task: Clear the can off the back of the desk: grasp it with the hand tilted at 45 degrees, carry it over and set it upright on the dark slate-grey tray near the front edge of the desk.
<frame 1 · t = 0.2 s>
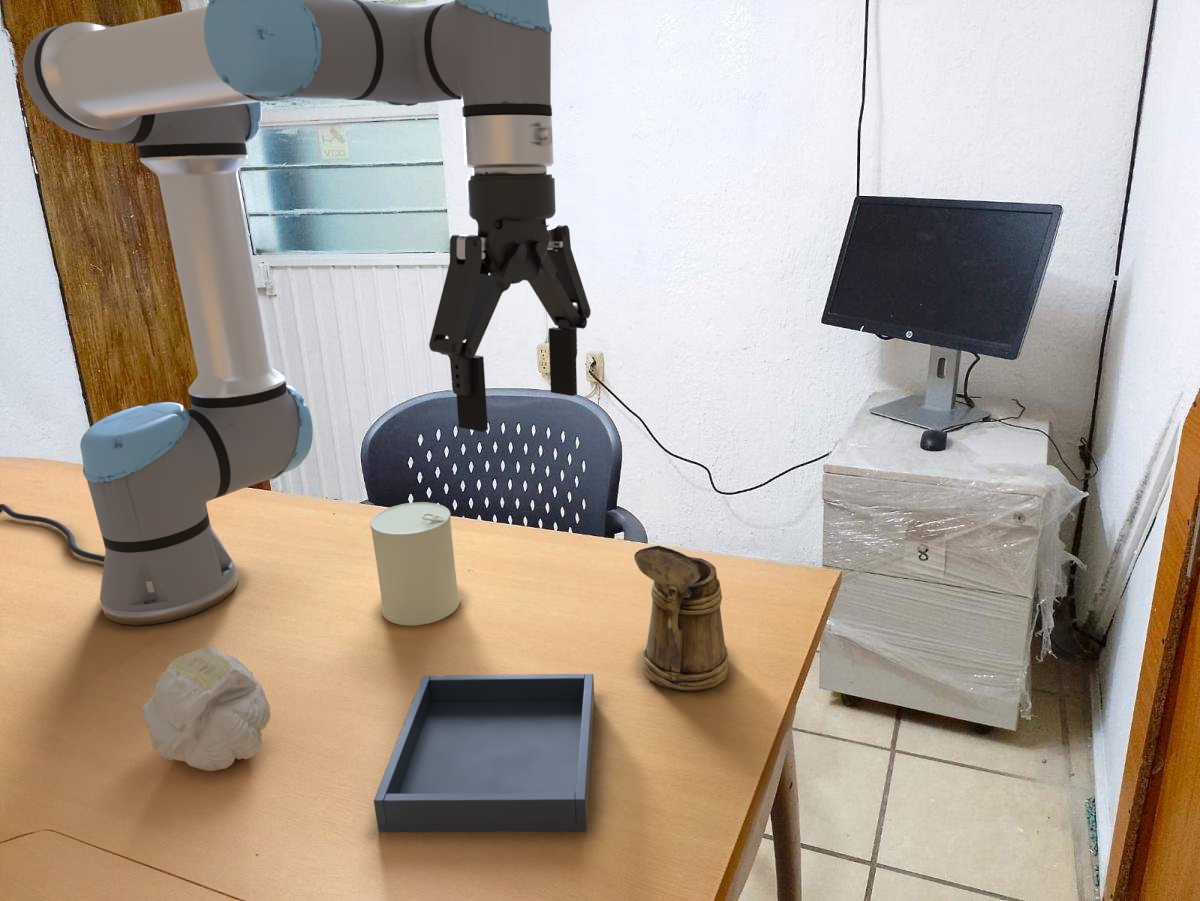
hand: (521, 410, 78), 28 cm above the table, tool pointing down, fingers open, 13 cm apart
wooden mug: (679, 680, 84), on the table
tray: (497, 759, 73), on the table
fossil replica: (217, 747, 76), on the table
can: (421, 606, 99), on the table
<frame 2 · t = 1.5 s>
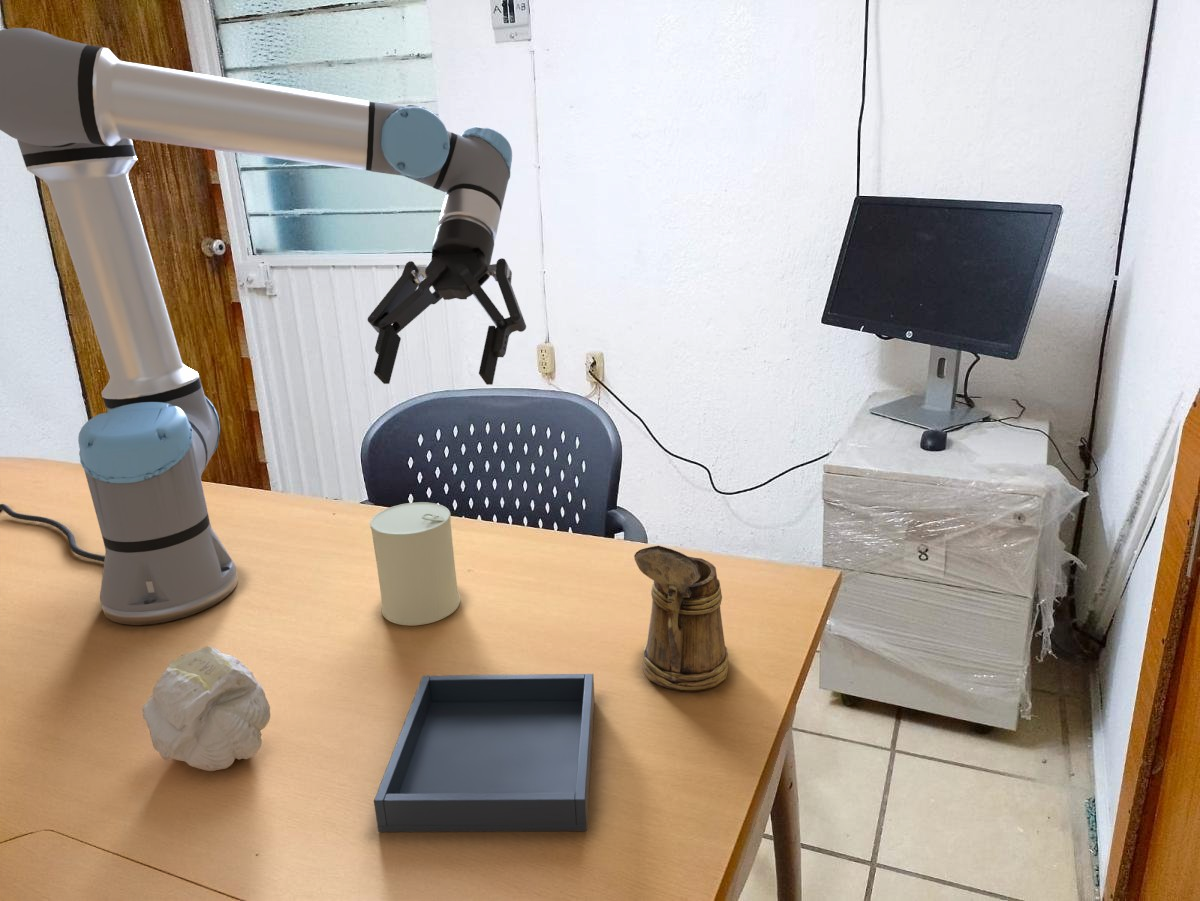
hand: (432, 379, 99), 26 cm above the table, tool tilted 45°, fingers open, 13 cm apart
nothing on the table moved.
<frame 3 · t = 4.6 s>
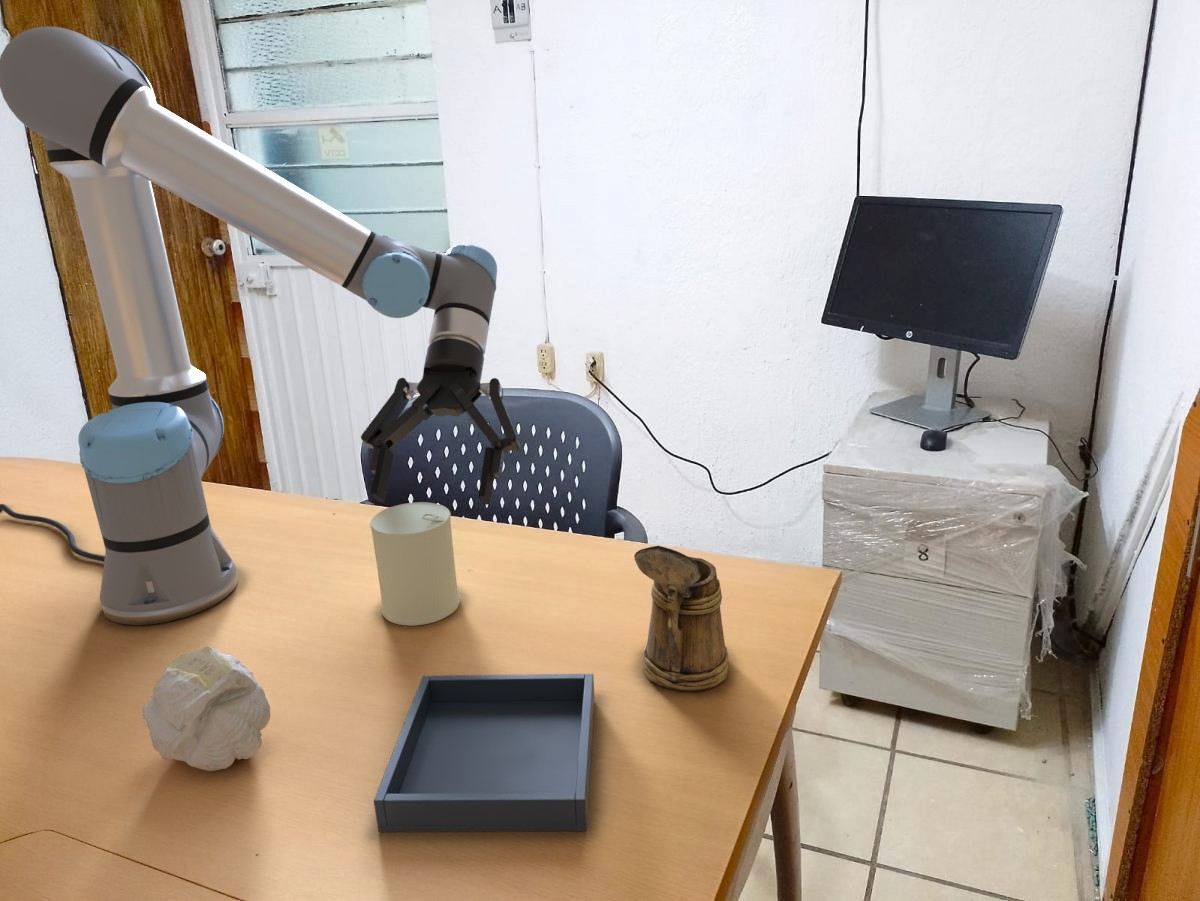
hand: (430, 499, 101), 11 cm above the table, tool tilted 45°, fingers open, 13 cm apart
nothing on the table moved.
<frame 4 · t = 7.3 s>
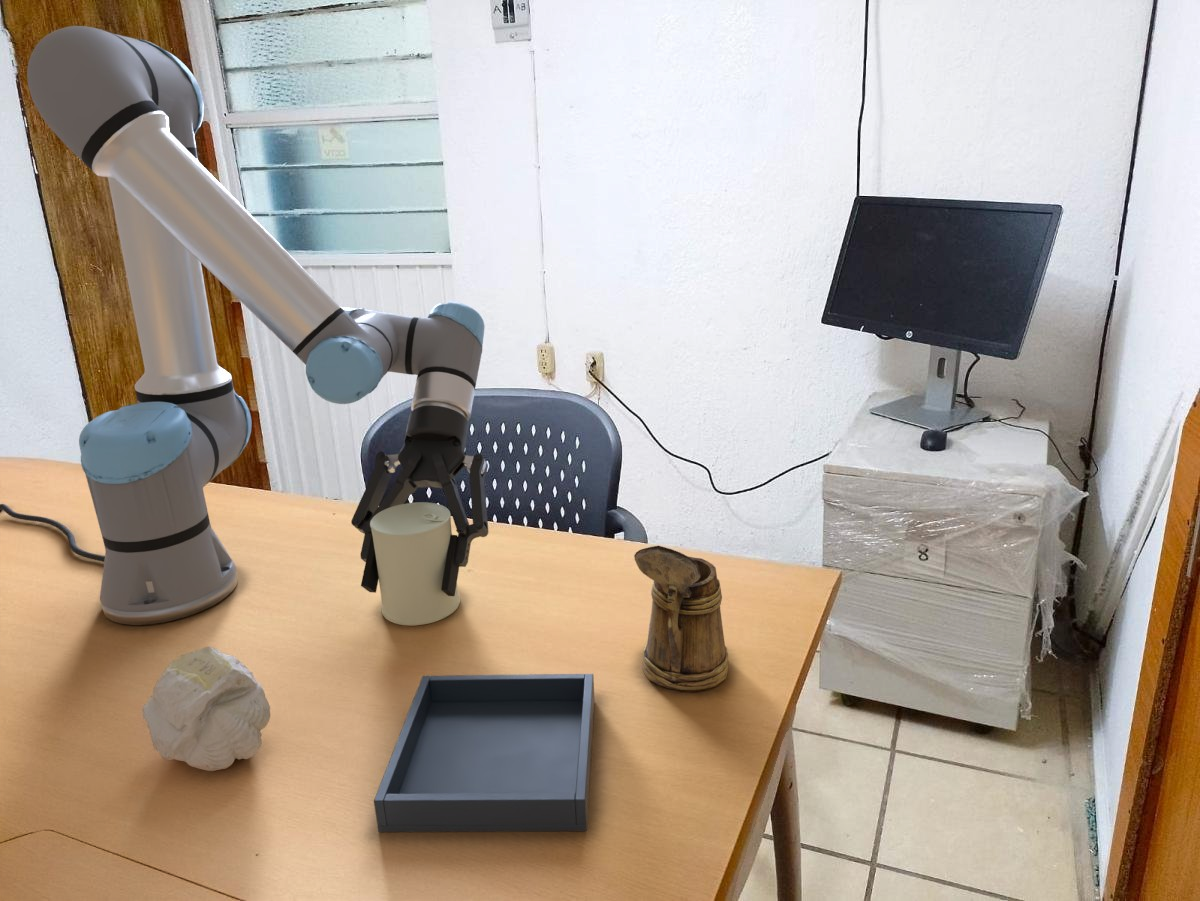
hand: (407, 591, 95), 4 cm above the table, tool tilted 45°, fingers closed on can, 9 cm apart
can: (421, 606, 99), on the table, touching gripper
everything else where it was.
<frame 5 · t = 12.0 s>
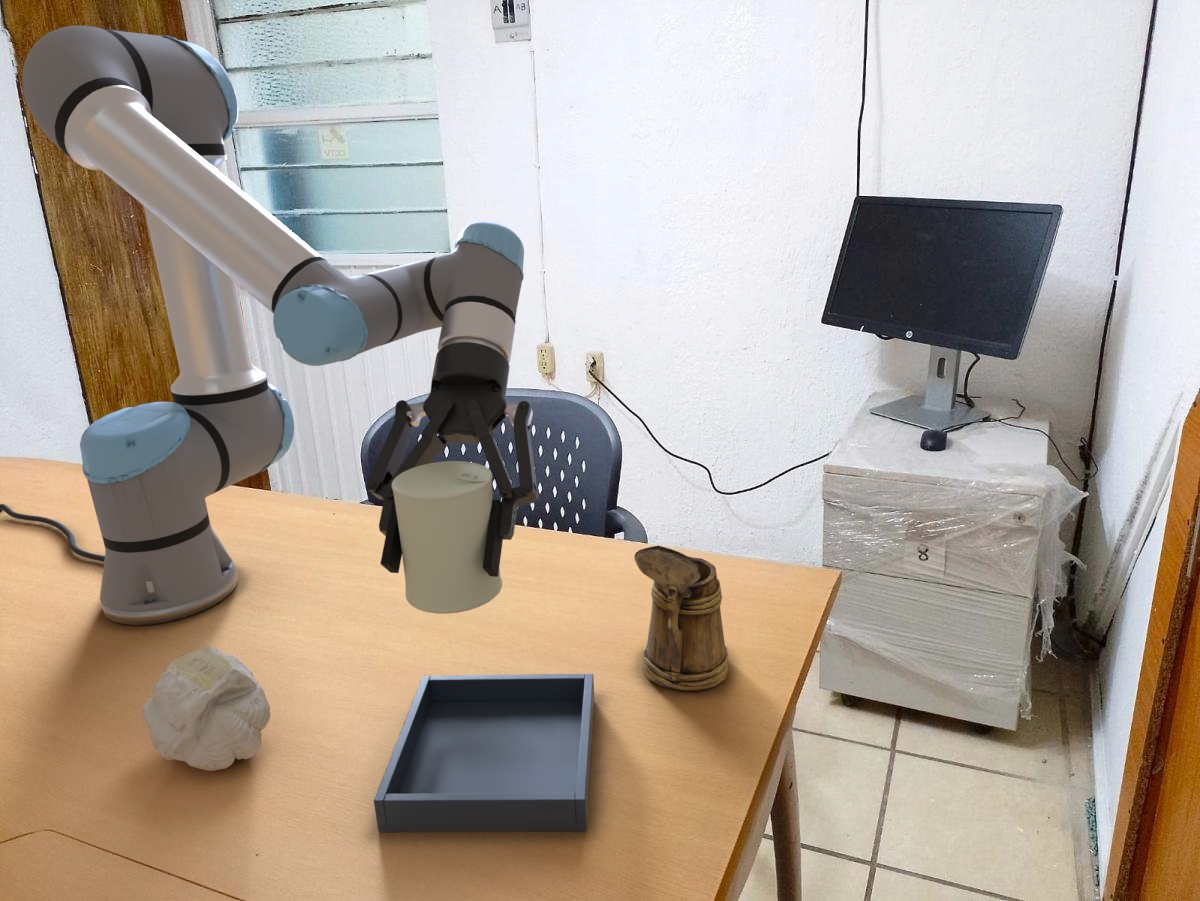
hand: (439, 570, 75), 15 cm above the table, tool tilted 45°, fingers closed on can, 9 cm apart
can: (454, 591, 80), point 11 cm above the table, touching gripper
everything else where it was.
when the fingers open (4 cm above the table, at t = 16.9 s): can stays where it is, resting on tray.
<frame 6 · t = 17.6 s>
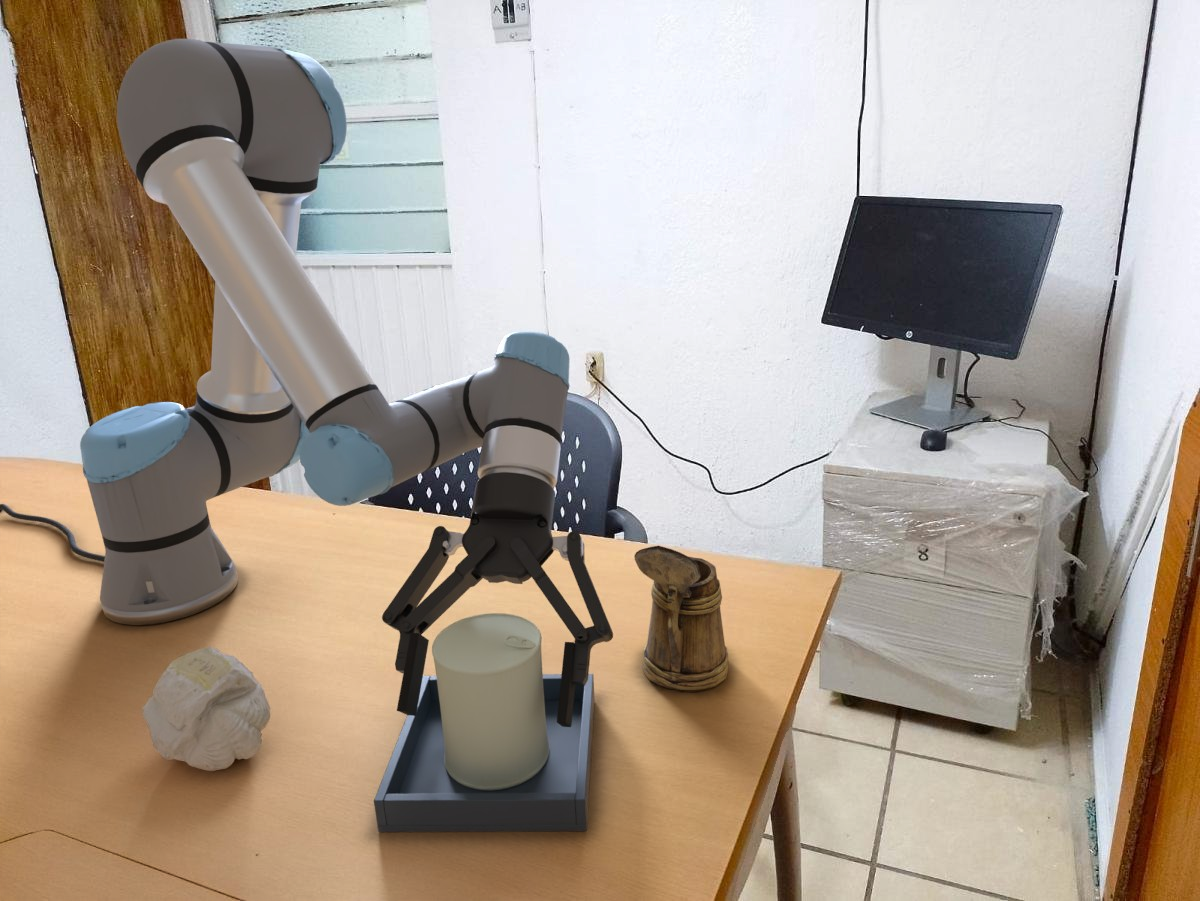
hand: (483, 719, 69), 6 cm above the table, tool tilted 45°, fingers open, 13 cm apart
can: (497, 755, 73), resting on tray
everything else where it was.
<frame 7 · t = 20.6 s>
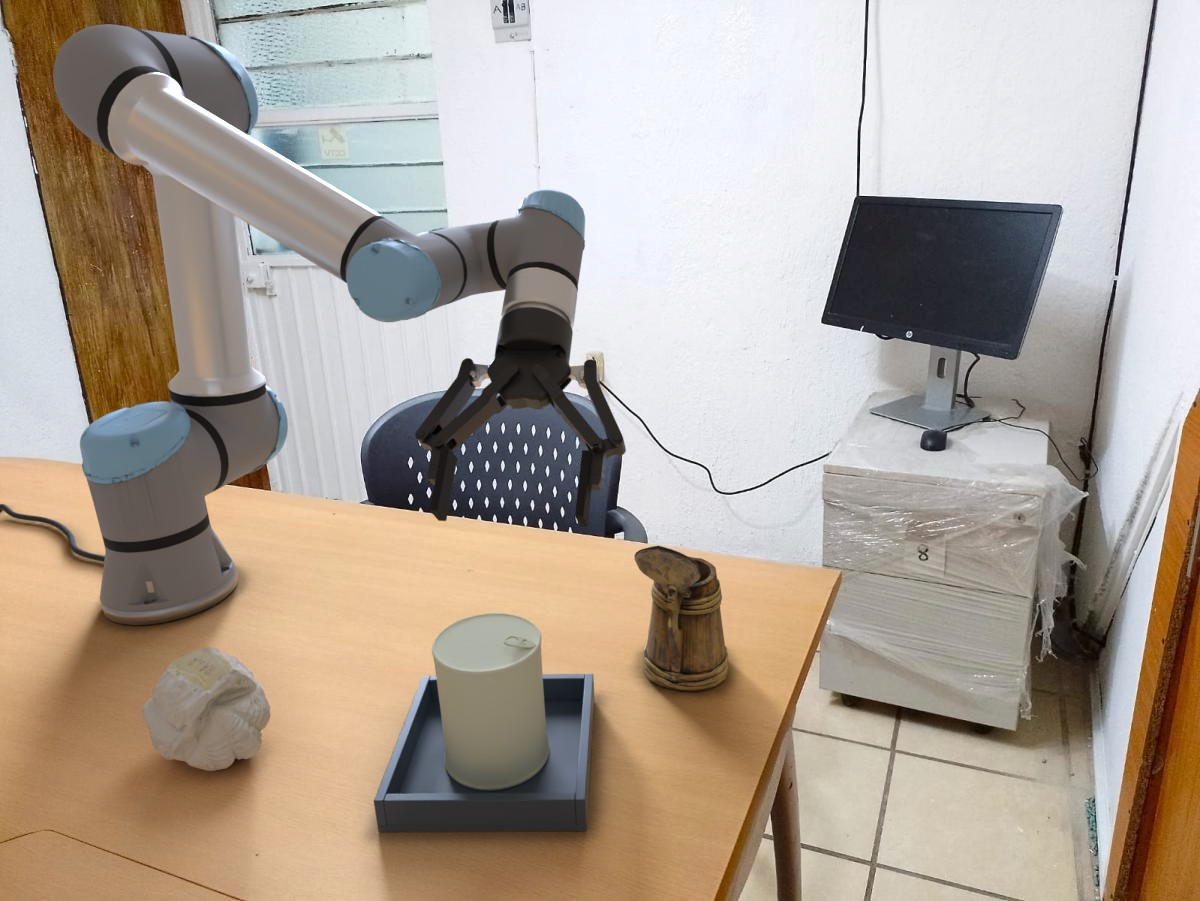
hand: (508, 519, 76), 19 cm above the table, tool tilted 45°, fingers open, 13 cm apart
nothing on the table moved.
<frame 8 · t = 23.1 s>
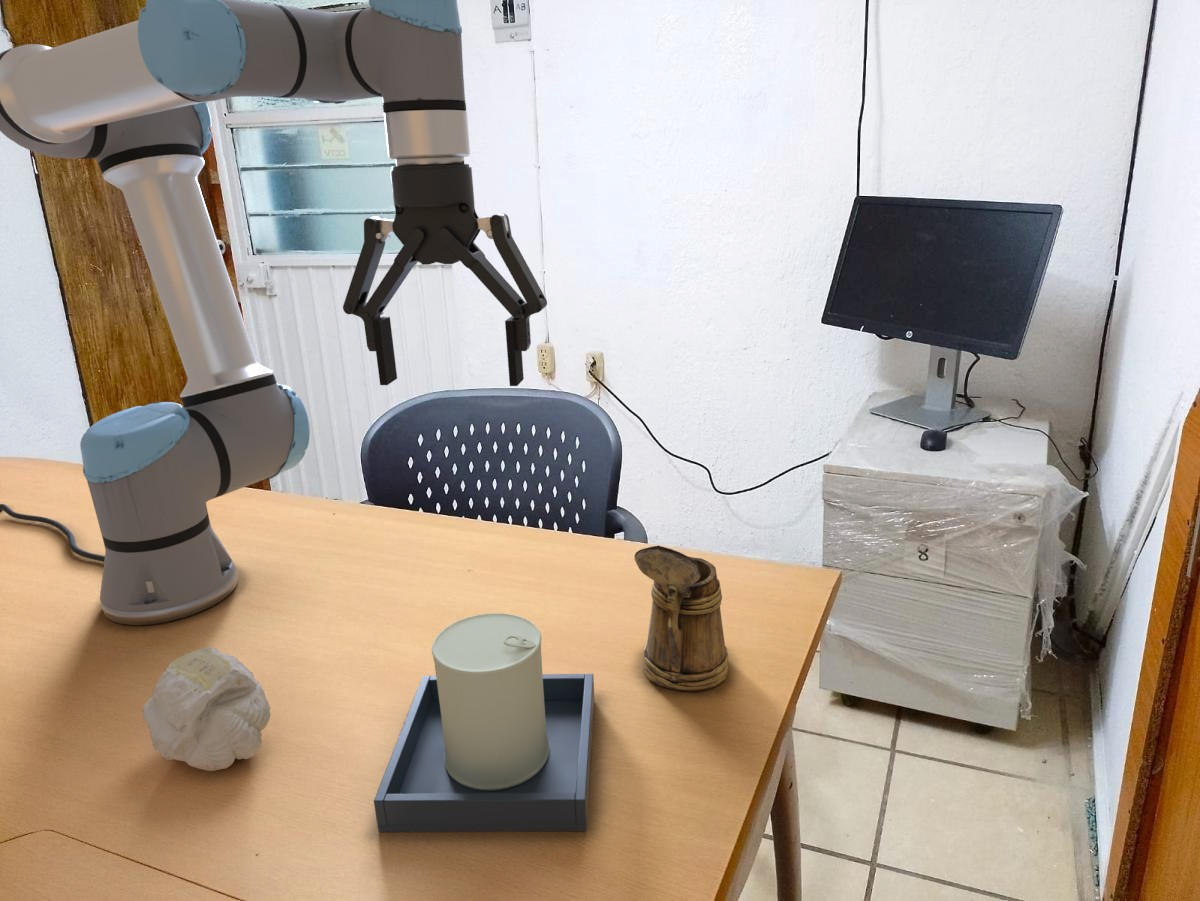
hand: (452, 382, 84), 29 cm above the table, tool pointing down, fingers open, 13 cm apart
nothing on the table moved.
at the end: can inside the target area in the tray (0.1 cm from its centre), point 0.4 cm above the tray's base; can tilted 0°; the gripper is holding nothing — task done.
